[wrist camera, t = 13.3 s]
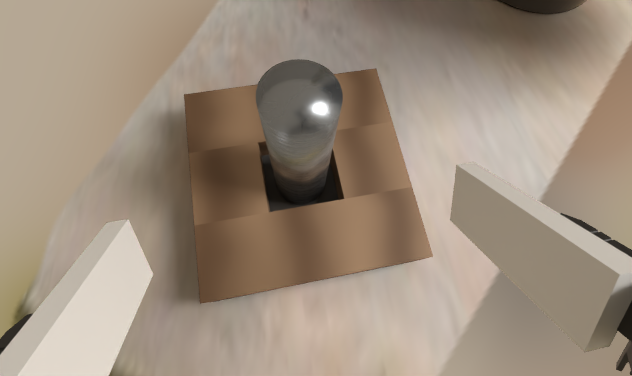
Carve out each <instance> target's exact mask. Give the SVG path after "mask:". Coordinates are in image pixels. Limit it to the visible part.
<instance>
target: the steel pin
mask: <svg viewBox="0 0 632 376" xmlns="http://www.w3.org/2000/svg"><path fill="white" fill-rule="evenodd" d="M342 101H343V93H342V89H341V85H340V83H339V81H338V80H337V78H336V77H335V75H334V74H333V73H332V72H331V71H330V70H328V69H327V68H326V67H324V66H322V65H320V64H318V63H316V62H312V61H309V60H289V61H285V62H282V63H279V64H277V65H275V66H273V67H272V68H271V69H269V70H268V71H267V72H266V73H265V74H264V75H263V76H262V78H261V79H260V81H259V83H258V86H257V89H256V104H257V108H258V112H259V116H260V120H261V124H262V128H263V132H264V136H265V140H266V144H267V148H268V152H269V156H270V160H271V164H272V168H273V172H274V176H275V180H276V184H277V188H278V191H279V193H280V194H281V196H282V197H283V198H284V199H285V200H287V201H288V202H290V203H293V204H298V205H304V204H308V203H311V202H313V201H315V200H316V199H317V198H318V197H319V196H320V195H321V194H322V192H323V190H324V186H325V182H326V177H327V172H328V168H329V163H330V158H331V154H332V149H333V144H334V140H335V135H336V130H337V126H338V121H339V116H340V112H341V107H342Z"/></svg>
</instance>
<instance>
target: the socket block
mask: <svg viewBox="0 0 632 376" xmlns="http://www.w3.org/2000/svg"><path fill="white" fill-rule="evenodd" d="M334 75H335V77H336V78H337V80H338V81H339V83H340V85H341V89H342V93H343V101H342V107H341V112H340V116H339V121H338V126H337V130H336V135H335V140H334V144H333V149H332V154H331V158H330V163H329V168H328V172H327V177H326V182H325V186H324V190H323V192H322V194H321V195H320V196H319V197H318V198H317V199H316V200H315V201H313V202H311V203H308V204H304V205H298V204H293V203H290V202H288V201H287V200H285V199H284V198H283V197H282V196H281V194H280V193H279V191H278V188H277V184H276V180H275V176H274V172H273V168H272V164H271V160H270V156H269V152H268V148H267V144H266V140H265V136H264V132H263V128H262V124H261V120H260V116H259V112H258V108H257V104H256V89H257V86H258V85H251V86H244V87H236V88H229V89H222V90H214V91H207V92H200V93H192V94H185V95H184V100H185V113H186V126H187V139H188V152H189V165H190V178H191V191H192V204H193V217H194V230H195V243H196V256H197V269H198V282H199V295H200V303H207V302H215V301H220V300H225V299H229V298H234V297H239V296H244V295H249V294H254V293H259V292H264V291H269V290H274V289H279V288H284V287H289V286H294V285H299V284H304V283H308V282H313V281H318V280H323V279H328V278H333V277H338V276H343V275H348V274H353V273H358V272H363V271H368V270H373V269H378V268H383V267H387V266H392V265H397V264H402V263H407V262H412V261H417V260H421V259H425V258H429V257H433V255H432V251H431V248H430V245H429V241H428V238H427V235H426V232H425V228H424V225H423V222H422V218H421V215H420V212H419V208H418V205H417V202H416V199H415V195H414V192H413V189H412V185H411V182H410V179H409V175H408V172H407V169H406V166H405V162H404V159H403V156H402V152H401V149H400V146H399V142H398V139H397V136H396V132H395V129H394V126H393V123H392V119H391V116H390V113H389V109H388V106H387V103H386V99H385V96H384V93H383V90H382V86H381V83H380V80H379V76H378V73H377V70H376V69H369V70H361V71H354V72H347V73H339V74H334Z"/></svg>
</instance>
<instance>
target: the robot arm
mask: <svg viewBox="0 0 632 376" xmlns="http://www.w3.org/2000/svg"><path fill="white" fill-rule="evenodd" d="M501 1H503V2H505V3H507V4H509V5H511V6H514V7H516V8H519V9H523V10H526V11H531V12H537V13H559V12H564V11H568V10H571V9H574V8H576V7H578V6H579V5H581V4H582V3H584V2H585V1H586V0H501ZM450 220H451V221H452V222H453V223H454V224H455V225H456V226H457V227H458V228H459V229H460V230H461V231H462V232H463V233H464V234H465V235H466V236H467V237H468V238H469V239H470V240H471V241H472V242H473V243H474V244H475V245H476V246H477V247H478V248H479V249H480V250H481V251H482V252H483V253H484V254H485V255H486V256H487V257H488V258H489V259H490V260H491V261H492V262H493V263H494V264H495V265H496V266H497V267H498V268H499V269H500V270H501V271H502V272H503V273H504V274H505V275H506V276H507V277H509V279H510V280H511V281H512V282H513V283H514V284H515V285H516V286H517V287H518V288H520V290H521V291H522V292H523V293H524V294H526V295H527V296H528V297H529V298H530V299H531V300H532V301H533V302H534V303H535V304H536V305H537V306H538V307H539V308H540V309H541V310H542V311H543V312H544V313H545V314H546V315H547V316H548V317H549V318H550V319H551V320H552V321H553V322H554V323H555V324H556V325H557V326H558V327H559V328H560V329H561V330H562V331H563V332H564V333H565V334H566V335H567V336H568V337H569V338H570V339H571V340H572V341H573V342H574V343H575V344H576V345H577V346H578V347H579V348H580V349H581V350H582V351H583V352H587V351H592V350H596V349H600V348H604V347H609V346H610V344H611V342H612V341H613V339H614V337H615V335H616V333H617V331H619V332H620V333H621V334H623V335H624V336H625V337H627V339H629V342H628V344H627V345H626V347H625V349H624V351H623V352H622V354H621V356H620V358H619V360H618V362H617V365H616V370H619V371H622V370H623V368H624V366H625V365H626V363H627V362H629V364H630V368H631V372H630V375H632V250H631V249H629V248H627V247H626V246H624V245H622V244H620V243H619V242H617V241H615V240H611V238H610V237H609V236H607V235H605V234H604V233H602V232H598V230H596V229H595V228H593V227H592V226H590V225H588V224H586V223H585V222H583V221H581V220H578V219H576V218H573V217H570V216H568V215H565V214H562V213H561V214H559V213H557V212H556V211H554V210H552V209H551V208H549V207H548V206H546V205H544V204H543V203H541V202H539V201H538V200H536V199H534V198H533V197H531V196H529V195H528V194H526V193H524V192H523V191H521V190H519V189H518V188H516V187H515V186H513V185H511V184H510V183H508V182H506V181H505V180H503V179H501V178H500V177H498V176H496V175H495V174H493V173H491V172H490V171H488V170H486V169H485V168H483V167H482V166H480V165H478V164H477V163H475V162H470V163H464V164H458V165H457V166H456V174H455V183H454V191H453V200H452V208H451V217H450ZM152 276H153V273H152V270H151V268H150V266H149V264H148V262H147V259H146V257H145V255H144V253H143V251H142V248H141V246H140V244H139V242H138V240H137V237H136V235H135V233H134V231H133V229H132V226H131V224H130V222H129V220H128V219H125V220H119V221H113V222H107V223H106V224H105V225H104V227H103V228H102V229H101V230H100V232H99V233H98V234H97V235H96V237H95V238H94V239H93V240H92V242H91V243H90V244H89V245H88V246H87V248H86V249H85V250H84V251H83V253H82V254H81V255H80V256H79V258H78V259H77V260H76V261H75V263H74V264H73V265H72V266H71V268H70V269H69V270H68V271H67V273H66V274H65V275H64V276H63V278H62V279H61V280H60V281H59V282H58V284H57V285H56V286H55V287H54V289H53V290H52V291H51V292H50V294H49V295H48V296H47V297H46V299H45V300H44V301H43V302H42V304H41V305H40V306H39V307H38V309H37V310H36V311H35V312H34V313H33V314H28V315H26V316H25V317H24V318H23V319H21V320H20V321H19V322H18V323H16V324H15V325H14V326H13V327H12V328H10V329H9V330H8V331H7V332H6V333H5V334H4V335H3V336H2V337H1V339H0V376H109V374H110V371H111V369H112V367H113V365H114V362H115V360H116V358H117V356H118V353H119V351H120V349H121V347H122V344H123V342H124V340H125V337H126V335H127V333H128V331H129V328H130V326H131V324H132V322H133V319H134V317H135V315H136V313H137V310H138V308H139V306H140V303H141V301H142V299H143V297H144V294H145V292H146V290H147V288H148V285H149V283H150V281H151V279H152Z"/></svg>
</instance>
